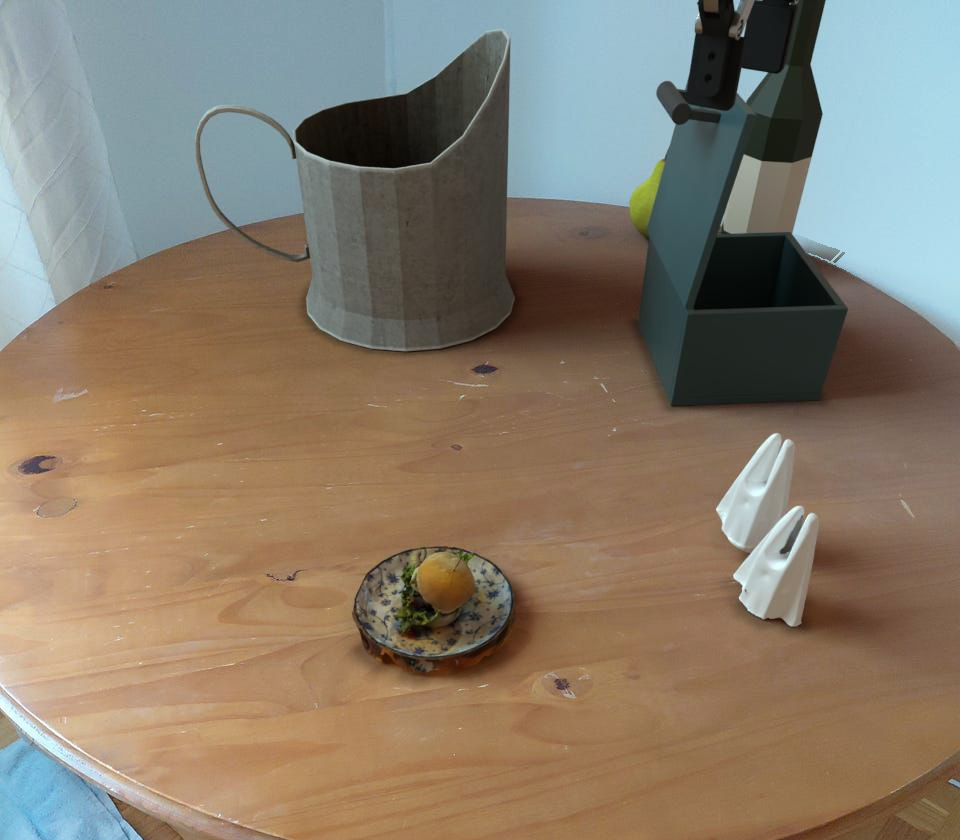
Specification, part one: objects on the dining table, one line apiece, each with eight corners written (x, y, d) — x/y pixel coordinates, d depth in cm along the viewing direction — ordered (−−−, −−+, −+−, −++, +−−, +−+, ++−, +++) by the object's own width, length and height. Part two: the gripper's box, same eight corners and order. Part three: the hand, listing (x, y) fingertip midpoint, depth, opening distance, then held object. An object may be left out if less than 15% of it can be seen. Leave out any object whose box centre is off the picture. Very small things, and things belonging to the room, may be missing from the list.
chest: (768, 318, 97) (790, 231, 90) (819, 400, 86) (848, 308, 79) (637, 322, 96) (649, 235, 90) (670, 406, 85) (687, 314, 78)
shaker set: (710, 524, 73) (738, 406, 65) (760, 522, 73) (795, 405, 65) (747, 628, 65) (785, 509, 57) (803, 626, 65) (849, 507, 57)
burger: (467, 544, 71) (466, 467, 66) (545, 638, 64) (552, 560, 59) (329, 595, 67) (315, 517, 62) (396, 700, 60) (388, 623, 55)
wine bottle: (771, 284, 103) (850, -37, 81) (703, 267, 106) (762, -47, 84) (793, 257, 108) (874, -52, 86) (728, 242, 111) (790, -61, 89)
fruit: (640, 252, 109) (654, 145, 100) (616, 230, 113) (628, 125, 104) (690, 244, 110) (709, 138, 101) (665, 222, 115) (680, 119, 106)
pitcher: (532, 341, 94) (545, 68, 75) (226, 366, 90) (162, 86, 72) (493, 248, 109) (497, 3, 91) (232, 266, 106) (180, 15, 87)
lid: (703, 53, 78) (650, 45, 78) (757, 115, 67) (695, 106, 66) (653, 231, 89) (606, 225, 89) (692, 309, 78) (639, 304, 77)
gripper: (823, -263, 42) (743, 133, 55) (912, -271, 52) (827, 65, 65) (676, -267, 45) (632, 112, 57) (788, -273, 55) (729, 50, 67)
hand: (735, 87), depth 61 cm, fingers open, 9 cm apart
